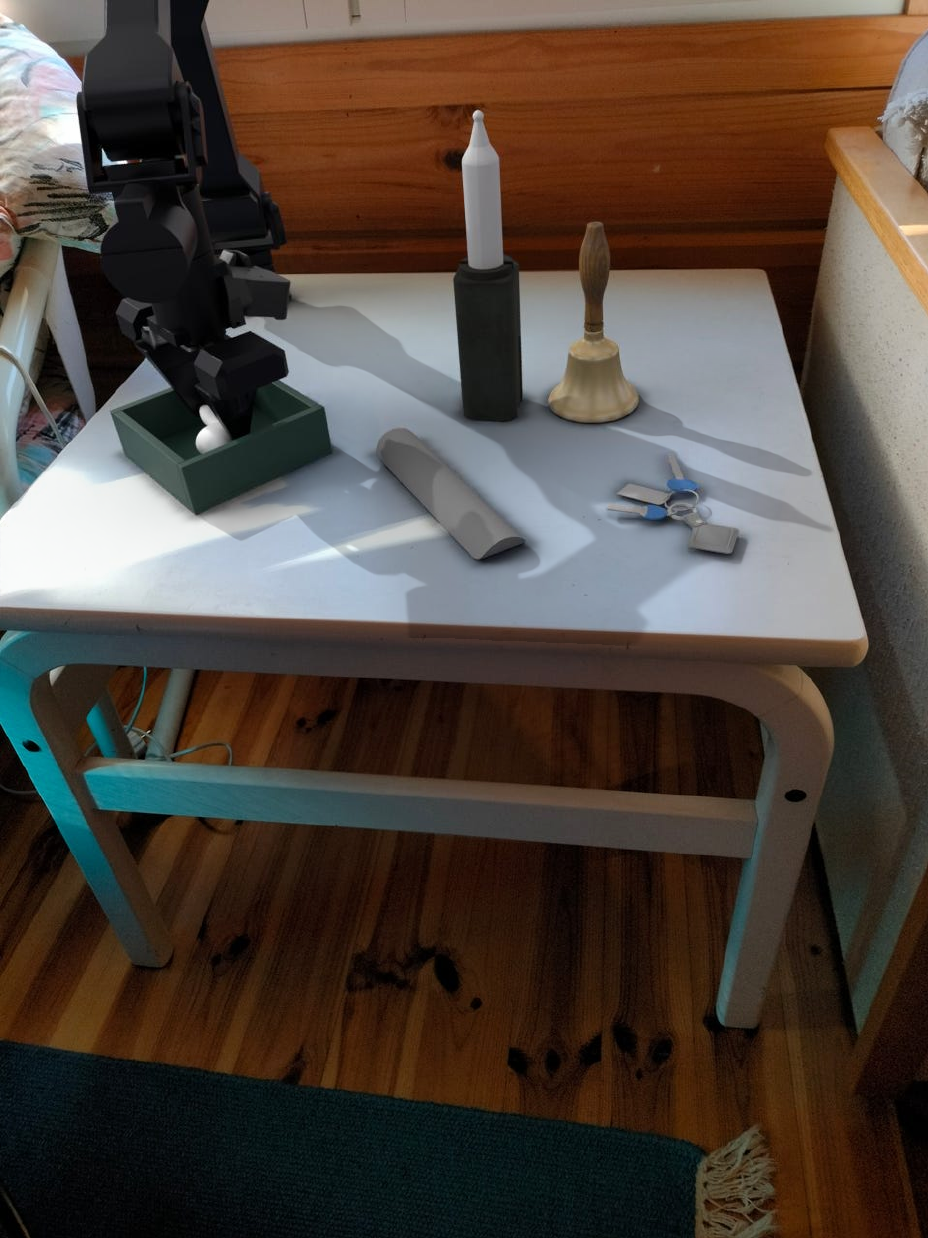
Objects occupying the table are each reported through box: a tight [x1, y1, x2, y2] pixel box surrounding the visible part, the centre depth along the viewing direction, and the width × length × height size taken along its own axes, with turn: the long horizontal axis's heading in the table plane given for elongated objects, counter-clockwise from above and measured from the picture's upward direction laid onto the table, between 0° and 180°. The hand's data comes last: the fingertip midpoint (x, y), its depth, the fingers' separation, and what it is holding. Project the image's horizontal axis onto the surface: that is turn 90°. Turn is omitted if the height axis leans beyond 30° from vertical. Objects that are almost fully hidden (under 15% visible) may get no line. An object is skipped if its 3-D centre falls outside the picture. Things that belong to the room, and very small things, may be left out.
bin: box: [109, 379, 333, 516], centre depth 84 cm, size 14×14×4 cm
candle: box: [452, 109, 524, 422], centre depth 81 cm, size 5×5×25 cm
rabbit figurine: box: [196, 405, 232, 454], centre depth 84 cm, size 6×4×8 cm
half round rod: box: [375, 427, 527, 560], centre depth 78 cm, size 4×20×2 cm, turn 28°
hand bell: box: [547, 221, 640, 424], centre depth 84 cm, size 8×8×16 cm
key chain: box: [605, 452, 740, 555], centre depth 74 cm, size 14×8×1 cm, turn 15°
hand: (221, 429), depth 84 cm, fingers closed on rabbit figurine, 7 cm apart
